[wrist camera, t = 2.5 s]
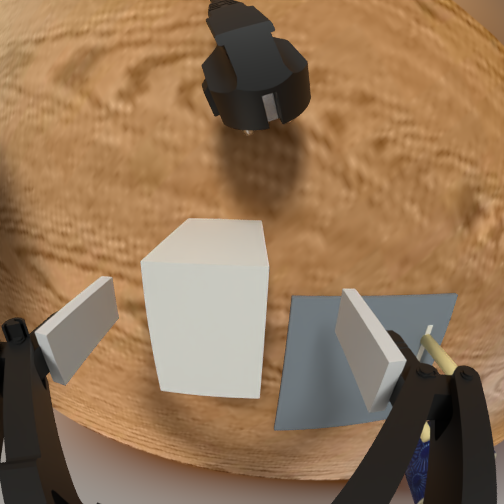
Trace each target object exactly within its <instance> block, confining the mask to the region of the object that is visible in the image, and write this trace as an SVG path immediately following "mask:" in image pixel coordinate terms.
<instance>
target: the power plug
mask: <svg viewBox="0 0 504 504" xmlns="http://www.w3.org/2000/svg"><path fill="white" fill-rule="evenodd" d="M210 1H211V4H210V5H209V9H208V16H209V18H207V19H206V22H207V25H208V27H209V29H210V30H211V32H212V34H213V36H214V38H215V40H216V42H217V47H216V48H215V50H214V51H213V52H212V54H211V55H210V56H209V57H208V58H207V59H206V60H205V62H204V63H203V64H202V69H203V72H204V75H205V80H204V82H203V83H202V88H203V91H204V94H205V96H206V98H207V101H208V103H209V105H210V107H211V109H212V112H213V114H214V116H218V115H220V116H221V119H222V121H223V123H224V125H226V126H228V127H231V128H234V129H239V130H242V132H243V133H244V134H245V135H247V136H249V135H252V134H253V133H254V130H264V129H269V128H270V127H269V123H268V122H269V121H272V120H275V119H278V118H279V119H280V120H281V122H282V124H285V123H286V124H288V123H291V121H292V120H293V119H295V118H296V117H298V116H299V115H300V114H301V113H302V112H303V111H304V110H305V109H306V108H307V106H308V104H309V102H310V99H311V94H310V83H309V72H308V62H307V61H306V59H305V58H304V57H303V56H302V55H301V54H300V53H299V52H298V51H297V50H296V49H295V48H294V46H293V45H292V44H291V43H290V42H289V41H288V40H284V39H280V38H275V37H272V34H271V33H270V32H273V31H275V28H274V26H273V24H272V22H271V21H270V20H269V19H268V18H266V17H265V16H264V15H263V14H262V13H261V12H260V11H258V10H257V9H256V8H255V7H254V6H246V5H245V4H244V3H241V2H238V1H234V0H210Z"/></svg>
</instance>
